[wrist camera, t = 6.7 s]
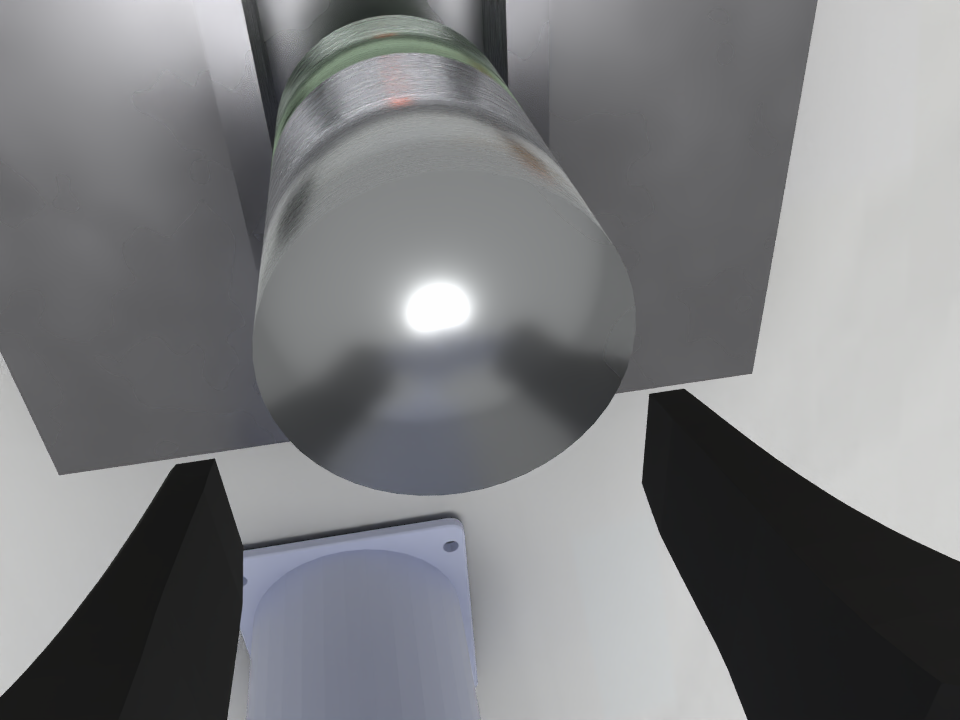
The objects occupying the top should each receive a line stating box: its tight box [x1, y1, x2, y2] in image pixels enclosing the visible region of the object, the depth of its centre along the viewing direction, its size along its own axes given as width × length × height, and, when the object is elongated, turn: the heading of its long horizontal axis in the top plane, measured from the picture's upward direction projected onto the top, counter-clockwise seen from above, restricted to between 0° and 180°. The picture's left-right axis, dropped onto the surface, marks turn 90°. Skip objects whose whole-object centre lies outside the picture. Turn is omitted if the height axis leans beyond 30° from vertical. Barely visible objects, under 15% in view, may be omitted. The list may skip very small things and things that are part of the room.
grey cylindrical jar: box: [253, 15, 636, 496], centre depth 11 cm, size 4×4×6 cm
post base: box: [0, 0, 818, 475], centre depth 17 cm, size 20×20×4 cm
